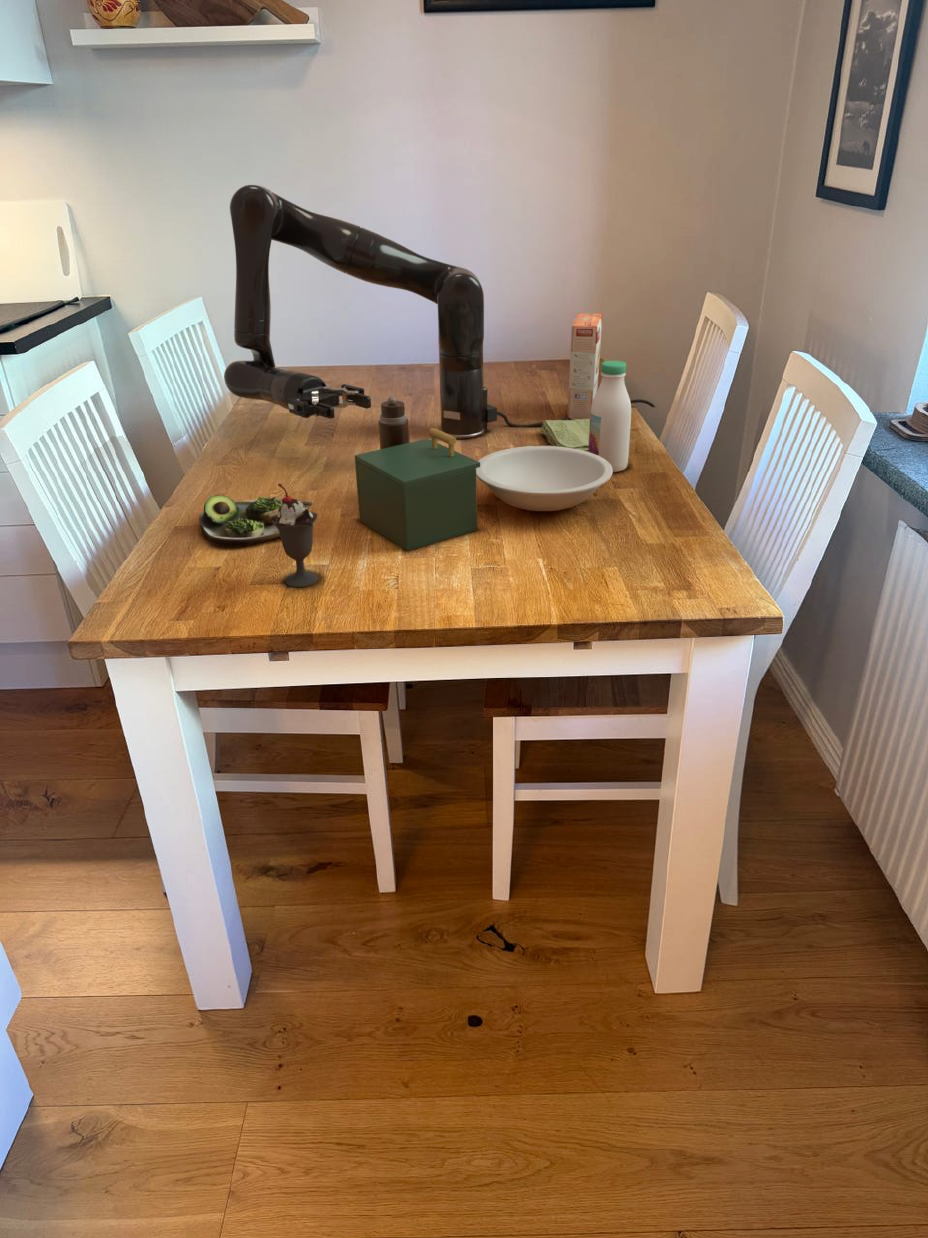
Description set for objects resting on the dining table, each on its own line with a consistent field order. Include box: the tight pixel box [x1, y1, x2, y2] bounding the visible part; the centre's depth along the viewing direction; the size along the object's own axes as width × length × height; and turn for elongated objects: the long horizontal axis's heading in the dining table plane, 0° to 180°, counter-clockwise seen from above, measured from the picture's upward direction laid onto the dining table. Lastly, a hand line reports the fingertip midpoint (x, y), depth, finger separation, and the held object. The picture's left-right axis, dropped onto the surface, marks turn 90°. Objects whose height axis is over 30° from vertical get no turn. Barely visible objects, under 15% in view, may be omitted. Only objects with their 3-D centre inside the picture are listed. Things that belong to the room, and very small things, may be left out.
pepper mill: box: [378, 395, 410, 450], centre depth 163 cm, size 5×5×18 cm
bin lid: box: [354, 427, 480, 487], centre depth 149 cm, size 14×16×4 cm
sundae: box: [271, 483, 319, 588], centre depth 134 cm, size 7×7×15 cm
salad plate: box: [198, 494, 313, 548], centre depth 156 cm, size 19×18×5 cm
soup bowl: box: [476, 445, 614, 512], centre depth 162 cm, size 24×24×7 cm
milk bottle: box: [588, 360, 632, 473], centre depth 174 cm, size 8×8×20 cm
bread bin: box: [354, 459, 478, 552], centre depth 153 cm, size 14×16×11 cm
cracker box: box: [566, 312, 603, 420], centre depth 206 cm, size 14×6×21 cm, turn 168°
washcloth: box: [540, 419, 590, 452], centre depth 191 cm, size 13×18×3 cm
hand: (351, 407), depth 168 cm, fingers open, 8 cm apart
